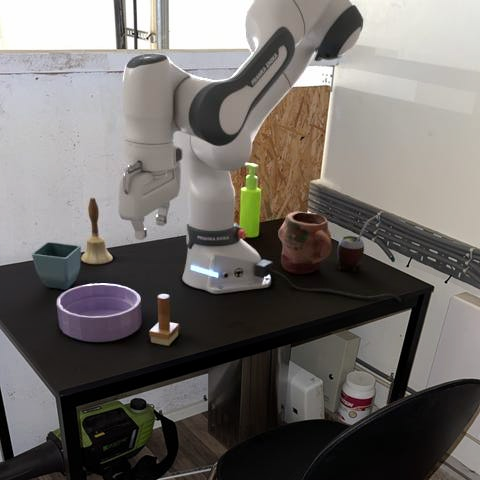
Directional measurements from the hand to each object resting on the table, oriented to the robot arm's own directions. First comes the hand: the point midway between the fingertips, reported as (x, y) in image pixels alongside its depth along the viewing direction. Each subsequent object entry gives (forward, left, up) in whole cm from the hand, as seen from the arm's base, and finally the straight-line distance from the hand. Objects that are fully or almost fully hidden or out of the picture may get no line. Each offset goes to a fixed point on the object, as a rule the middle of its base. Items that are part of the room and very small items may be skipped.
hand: (151, 231), depth 125 cm
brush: (-2, +3, -22) cm, 22 cm away
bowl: (+11, -5, -22) cm, 25 cm away
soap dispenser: (-34, -62, -22) cm, 74 cm away
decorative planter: (-43, -32, -22) cm, 58 cm away
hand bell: (+11, -45, -22) cm, 51 cm away
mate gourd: (-56, -32, -22) cm, 68 cm away
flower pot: (+20, -28, -22) cm, 41 cm away
